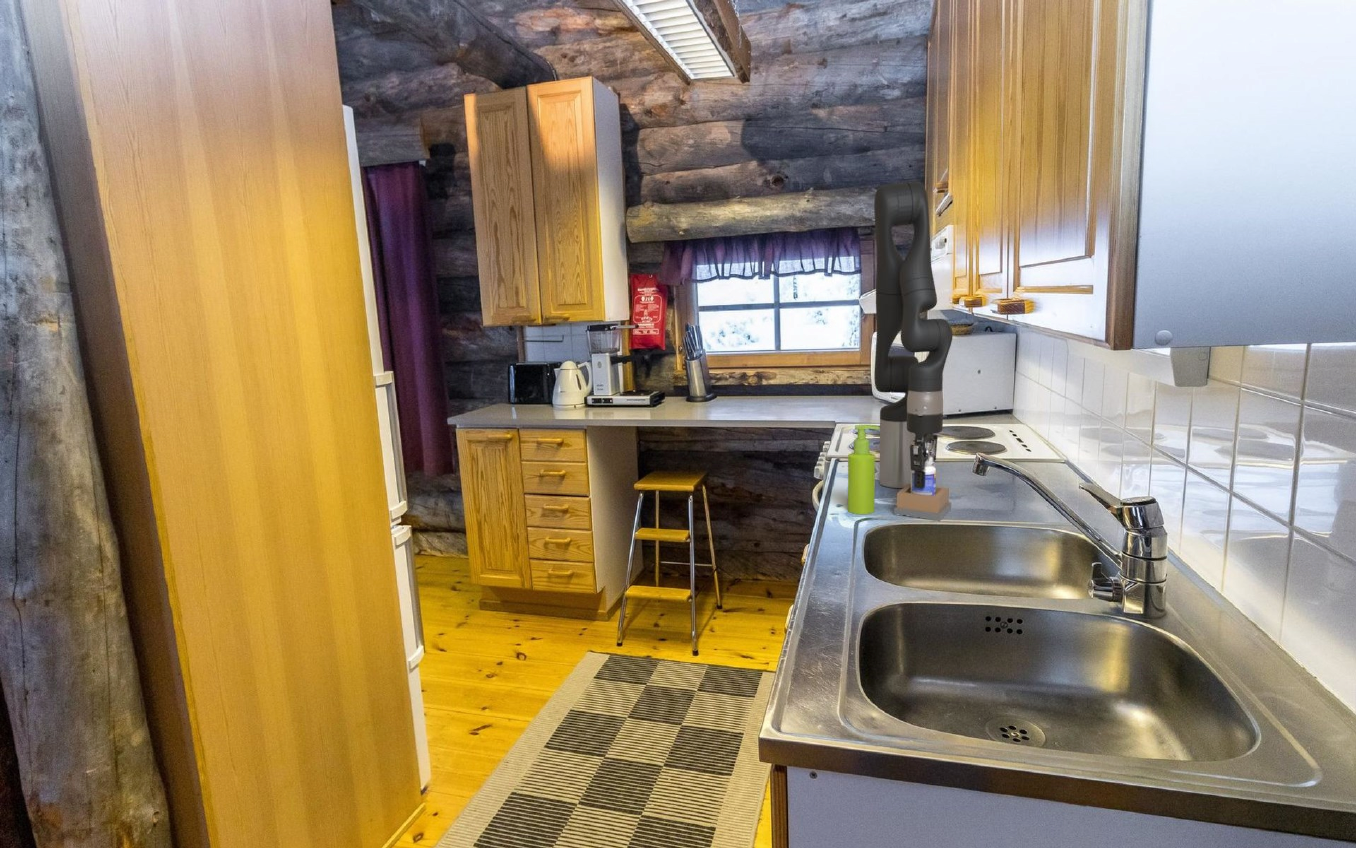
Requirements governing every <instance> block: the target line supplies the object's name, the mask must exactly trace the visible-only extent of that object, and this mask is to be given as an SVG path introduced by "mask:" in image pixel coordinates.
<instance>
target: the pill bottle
mask: <svg viewBox="0 0 1356 848" xmlns="http://www.w3.org/2000/svg"><path fill="white" fill-rule="evenodd" d="M923 458H924V457H923ZM932 464H933V458H932V457H931V456H930V458H929V462H927V463H926V471H925V487H924V488H923V489H922V488H915V487H914V471H913V470H911V493H914V494H923V495H931V496H935V495H936V487H937V469H936V467H935V466H934V465H932ZM917 465H920V462H919V461H918V462H917Z"/></svg>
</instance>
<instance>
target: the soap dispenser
mask: <svg viewBox="0 0 1356 848" xmlns="http://www.w3.org/2000/svg"><path fill="white" fill-rule="evenodd" d="M854 429H855V430H857V438H855V439H853V452H852V453H849V454H848V455H847V460H848V461H847V467H848V468H847V473H848V474H847V511H848V512H849V513H851V514H855V515H869V514H868V513H871V514H873V513H875V496H876V495H875V492H876V491H875V490H876V489H875V488H876V487H875V485H876V484H875V483H876V482H875V481H876V478H875V477H876V475H875V473H876V471H875V470H876V469H875V468H876V467H875V466H876V465H875V464H876V456H875V454H873V453H870V440H869V438H868V439H867V438H866V430H878V431H880V425H879V426H878V425H874V424H857V425H855V426H854Z"/></svg>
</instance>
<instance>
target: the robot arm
mask: <svg viewBox="0 0 1356 848" xmlns="http://www.w3.org/2000/svg"><path fill="white" fill-rule="evenodd" d="M874 194H875V195H874V202H873V203H874V204H873V205H874V206H873V210H874V226H875V227H874V229H875V241H876V274H875V277H876V278H875V279H876V280H875V317H876V320H875V321H876V322H875V323H876V339H875V340H876V341H875V356H874V357H875V359H874V376H873V378H874V386H875V388H876V390H877V392H878V393H890V394H891V393H892V394H894V393H896V394H898V393H900V394H901V393H904V396H903V397H902V398H901V399H899V400H898V401H896V402H894V403H890V404H887V405H884V406H883V407H881V408H880V411H879V427H880V429H879V467H878V469H879V476H878V477H879V479H878V480H879V481H878V483H879V485H881V486H883V487H887V488H895V489H903V488H904V487H905V486H906V485H908V484H911V470H913V471H914V487H915V488H922V489H923V488H924V487H925V471H926V463H927V462H929V458H930V456H931V457H932V458H933V464H932V466H934V464H935V462H936V461H937V449H938V437H939V436H938V435H937V434H939V433H941V432H942V431H943V428H944V427H943V425H944V422H943V421H944V419H943V418H944V396H943V380H944V379H943V376H944V375H943V373H944V368H945V366H946V363H947V358H948V354H949V352H950V349H951V346H952V342H953V335H954V334H953V329H952V325H951V324H950V323H949V321H947V320H946V319H945V318H930V319H929V318H926V319H925V318H924V319H923V318H922V319H921V318H920V315H921V314H922V313H925V312H928V311H930V310H932V309H934V308H935V307H936V306H937V304H938V298H937V297H938V296H937V291H936V286H935V280H934V274H933V269H932V268H933V267H932V259H931V230H930V212H929V211H930V210H929V200H928V199H929V198H928V194H927V190H926V187H925V185H924V184H923V183H922V182H921V181H908V182H900V183H898V182H897V183H892V184H884V185H881V186H879V187H878V188H877V189H876V191H875V193H874ZM907 225H908V226H909V225H912V226H913V238H912V241H911V244H910V246H909V250H908V251H907V253H906V255H905V257H904V258H903V257H902V255H901V253H899V250H898V249H897V247H896V245H895V242H894V238H893V234H892V232H893V230H892V229H893V227H901V226H907ZM899 333H900V343H901V345H902V346H903V348H904V349H905V350H906V351H907V352H909V353H924V352H925V353H928V355H927V356H926V358H925V359H924V360H923V361H919V359H918V358H917V357H916V356H913V355H907V356H906V355H905V356H903V355H899V356H897V355H896V356H894V355H893V356H890V355H889V353H890V350H891V348H892V345H893V344H894V341H895V339H896V338H897V336H898V334H899ZM923 457H924V458H923ZM918 461H919V462H920V465H917V462H918Z"/></svg>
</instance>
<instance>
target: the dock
mask: <svg viewBox="0 0 1356 848" xmlns="http://www.w3.org/2000/svg"><path fill="white" fill-rule="evenodd" d="M949 491H950V487H944V486H943V487H942V486H936V495H935V496H931V495H923V494H914V493H911V484H908V485H906V486H905V487H904V488H900V490H899V491H898V492H897V493H896V506H895V507H894V508H893V515H894V514H899V515H909V516H913V517H912V518H914V517H921V518H926V519H925V520H930V521H936V520H941V521H942V520H943V519H944V517H945V516H946V515H947V514H948V513H949V512H950V511H951V509H952V502H951V501H949V497H950V496H949V495H950V492H949ZM899 515H898V516H899ZM921 518H920V519H921Z"/></svg>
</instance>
